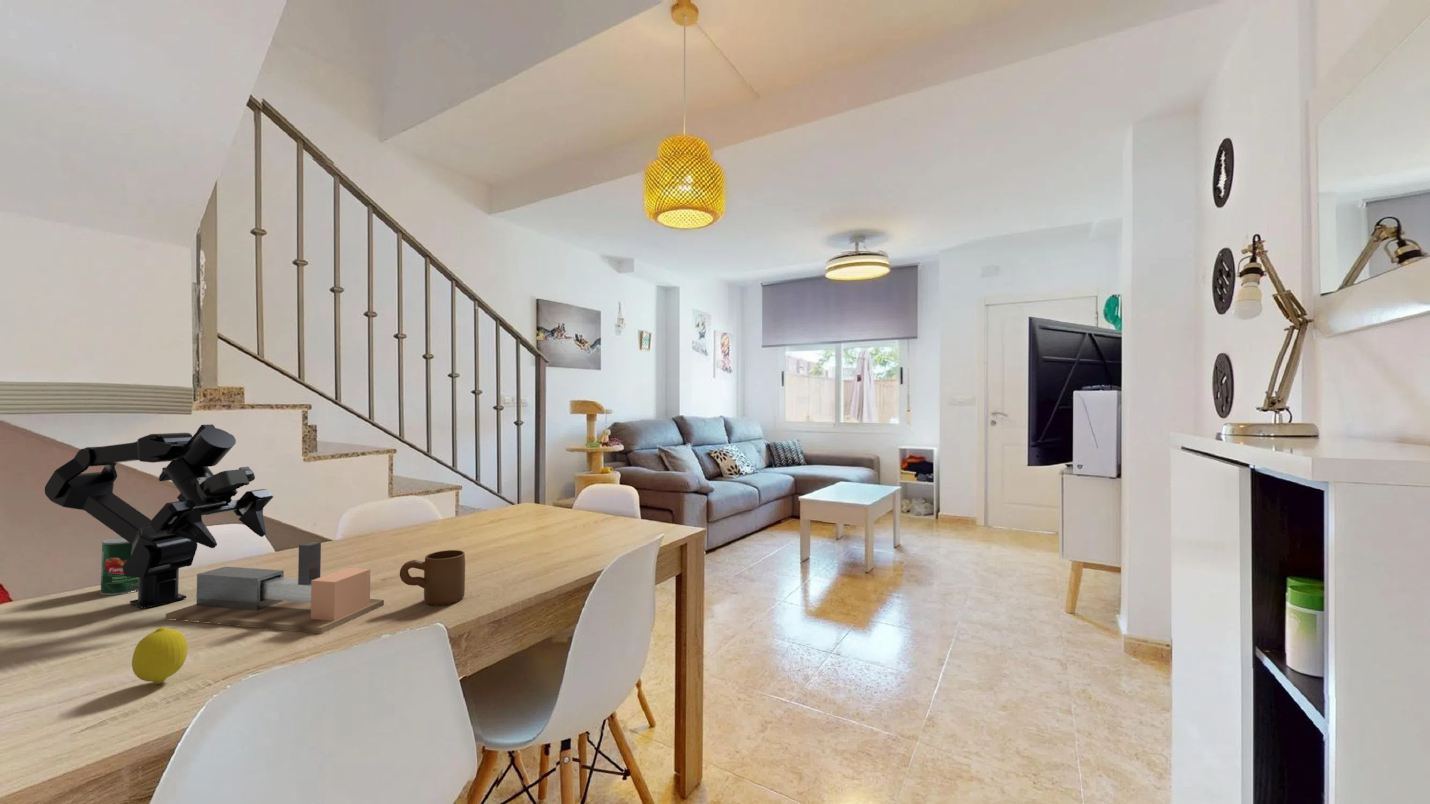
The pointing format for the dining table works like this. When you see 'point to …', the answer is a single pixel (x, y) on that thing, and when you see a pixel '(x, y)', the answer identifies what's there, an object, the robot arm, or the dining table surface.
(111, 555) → the canned tomato
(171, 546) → the robot arm
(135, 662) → the lemon
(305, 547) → the tube
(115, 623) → the dining table surface
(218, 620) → the base board
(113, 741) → the dining table surface
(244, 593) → the sleeve
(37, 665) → the dining table surface
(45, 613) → the dining table surface
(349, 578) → the socket block
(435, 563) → the mug
